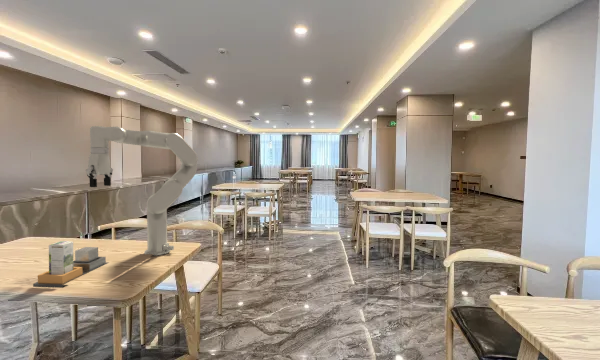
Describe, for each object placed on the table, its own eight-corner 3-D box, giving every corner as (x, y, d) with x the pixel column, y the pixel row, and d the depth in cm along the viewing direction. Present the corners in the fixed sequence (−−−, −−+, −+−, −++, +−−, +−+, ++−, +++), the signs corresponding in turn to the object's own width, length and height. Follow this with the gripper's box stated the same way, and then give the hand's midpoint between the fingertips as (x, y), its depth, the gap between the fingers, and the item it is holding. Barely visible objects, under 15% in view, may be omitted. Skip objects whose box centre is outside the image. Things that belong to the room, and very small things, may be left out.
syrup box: (59, 275, 124) (58, 240, 123) (74, 275, 124) (73, 240, 124) (48, 280, 118) (47, 244, 118) (64, 280, 119) (63, 244, 118)
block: (98, 264, 138) (98, 247, 137) (88, 268, 132) (88, 251, 131) (85, 264, 138) (85, 247, 138) (75, 268, 132) (75, 250, 132)
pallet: (84, 264, 141) (84, 255, 141) (109, 265, 141) (109, 256, 141) (33, 286, 115) (32, 276, 115) (63, 287, 115) (62, 277, 115)
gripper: (104, 152, 156) (105, 185, 157) (78, 150, 139) (79, 187, 140) (118, 152, 156) (119, 185, 157) (94, 151, 139) (95, 187, 139)
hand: (100, 186), depth 148 cm, fingers open, 9 cm apart
